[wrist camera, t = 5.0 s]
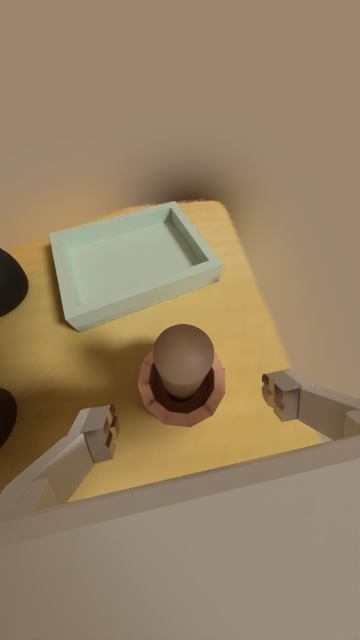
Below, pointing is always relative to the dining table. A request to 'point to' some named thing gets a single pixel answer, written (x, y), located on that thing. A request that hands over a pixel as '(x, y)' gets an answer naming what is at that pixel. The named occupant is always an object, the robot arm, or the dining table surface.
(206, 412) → the cup
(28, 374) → the dining table surface
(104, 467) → the dining table surface
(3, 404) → the coffee mug
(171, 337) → the dowel
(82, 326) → the tray
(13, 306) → the cola bottle
